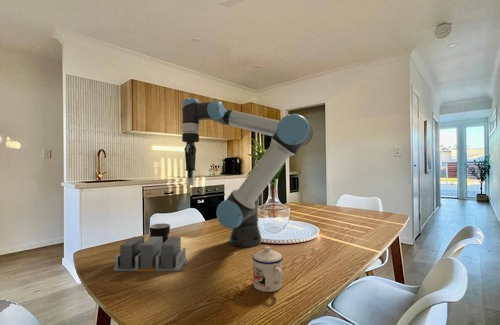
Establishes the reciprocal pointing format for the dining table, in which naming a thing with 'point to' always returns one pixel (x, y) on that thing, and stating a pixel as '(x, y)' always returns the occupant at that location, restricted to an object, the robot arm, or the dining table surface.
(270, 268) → the teacup with lid
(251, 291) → the dining table surface
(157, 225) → the coffee mug
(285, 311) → the dining table surface
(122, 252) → the rack
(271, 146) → the robot arm
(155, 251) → the grey rectangular block
